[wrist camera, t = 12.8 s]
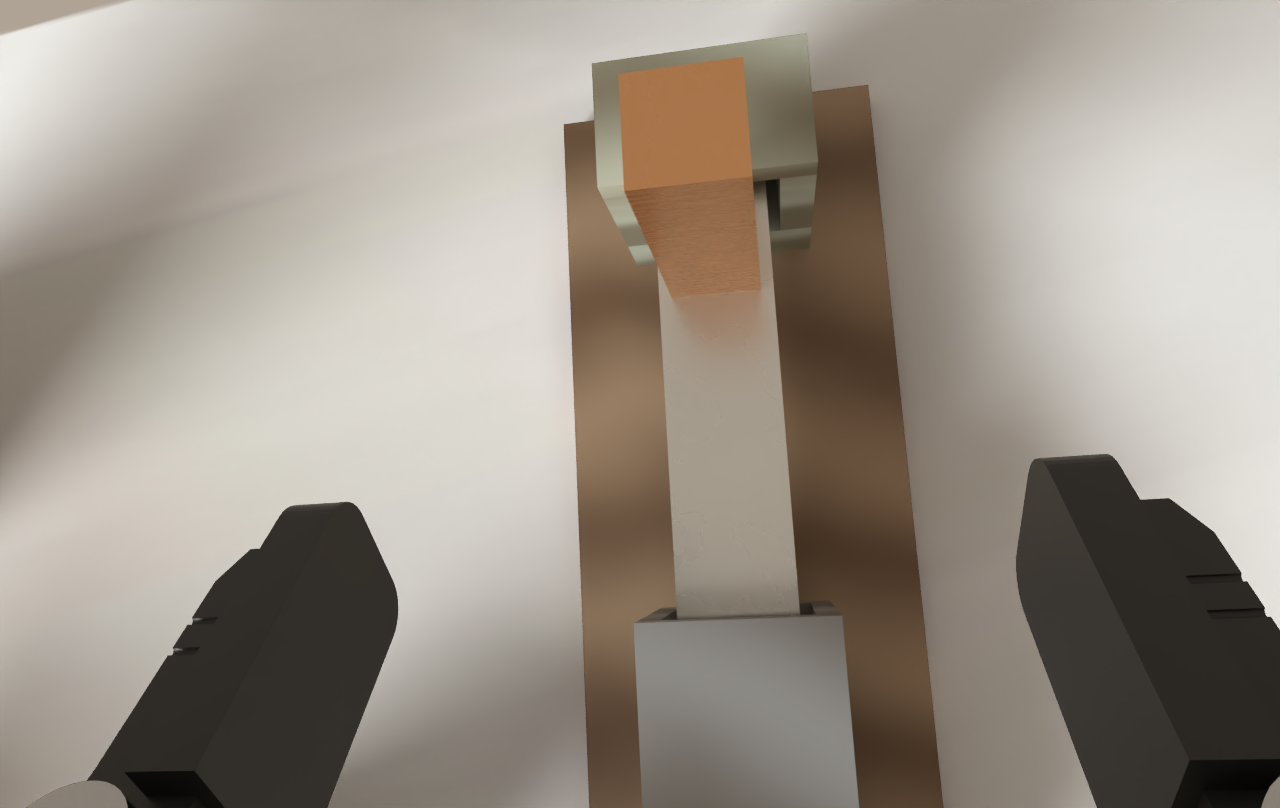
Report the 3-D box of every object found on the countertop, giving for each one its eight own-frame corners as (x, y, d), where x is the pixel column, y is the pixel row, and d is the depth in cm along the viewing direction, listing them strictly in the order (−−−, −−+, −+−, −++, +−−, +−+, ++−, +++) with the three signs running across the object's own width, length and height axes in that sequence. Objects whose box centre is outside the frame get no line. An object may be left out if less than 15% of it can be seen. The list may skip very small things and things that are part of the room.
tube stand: (965, 1069, 25) (1044, 1296, 18) (605, 1054, 27) (537, 1255, 19) (865, 99, 31) (893, -47, 23) (570, 136, 32) (505, 12, 25)
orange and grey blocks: (806, 709, 24) (824, 833, 14) (695, 712, 25) (635, 833, 15) (762, 160, 27) (750, -72, 17) (664, 172, 28) (595, -46, 17)
